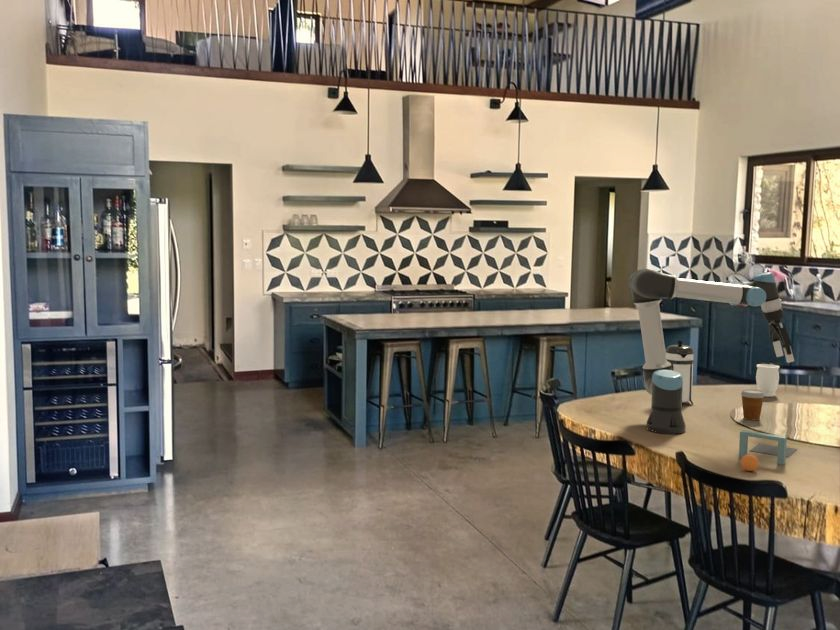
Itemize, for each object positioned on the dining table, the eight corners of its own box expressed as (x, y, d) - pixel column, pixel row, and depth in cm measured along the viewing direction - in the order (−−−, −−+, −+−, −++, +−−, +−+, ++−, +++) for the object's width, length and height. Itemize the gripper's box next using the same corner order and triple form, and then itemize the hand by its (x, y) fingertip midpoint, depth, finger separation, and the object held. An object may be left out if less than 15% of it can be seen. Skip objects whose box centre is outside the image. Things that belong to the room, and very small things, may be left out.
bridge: (738, 457, 269) (739, 431, 268) (741, 455, 271) (742, 430, 270) (783, 464, 260) (784, 438, 259) (785, 462, 262) (786, 436, 261)
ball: (738, 471, 252) (738, 455, 252) (742, 467, 257) (743, 451, 256) (755, 474, 249) (756, 457, 248) (760, 470, 253) (760, 454, 253)
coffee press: (702, 403, 358) (705, 340, 355) (681, 407, 349) (684, 342, 346) (671, 397, 372) (673, 336, 370) (650, 401, 363) (652, 338, 360)
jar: (782, 397, 373) (783, 367, 372) (760, 397, 373) (762, 367, 372) (772, 393, 384) (773, 363, 382) (751, 393, 384) (752, 363, 382)
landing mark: (749, 451, 277) (749, 450, 277) (759, 443, 287) (759, 443, 287) (788, 457, 269) (788, 456, 269) (796, 449, 279) (796, 449, 279)
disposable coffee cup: (738, 419, 326) (739, 392, 325) (740, 415, 334) (741, 388, 333) (762, 422, 321) (764, 394, 320) (764, 417, 330) (765, 390, 329)
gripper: (791, 310, 301) (805, 361, 302) (772, 304, 325) (784, 351, 327) (772, 315, 302) (785, 366, 303) (754, 309, 326) (766, 356, 328)
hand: (785, 359), depth 315 cm, fingers open, 13 cm apart
